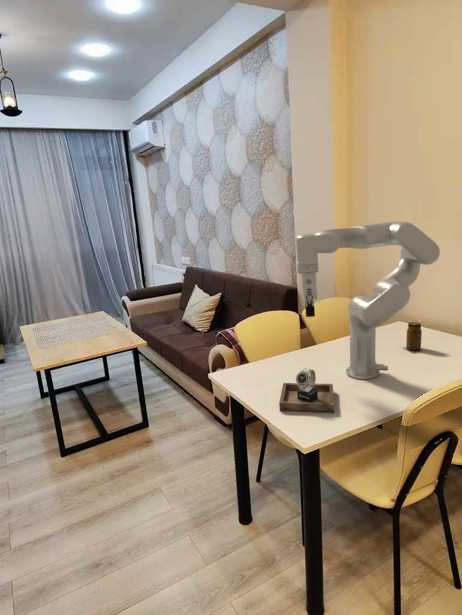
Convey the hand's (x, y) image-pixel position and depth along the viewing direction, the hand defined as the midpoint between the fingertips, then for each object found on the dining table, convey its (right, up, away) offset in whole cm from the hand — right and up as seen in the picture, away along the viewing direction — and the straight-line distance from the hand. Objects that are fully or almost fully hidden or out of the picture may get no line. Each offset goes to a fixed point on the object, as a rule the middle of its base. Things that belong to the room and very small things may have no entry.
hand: (310, 313), depth 155 cm
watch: (-3, -30, -11) cm, 32 cm away
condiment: (+53, -17, +30) cm, 63 cm away
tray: (-3, -31, -10) cm, 33 cm away
